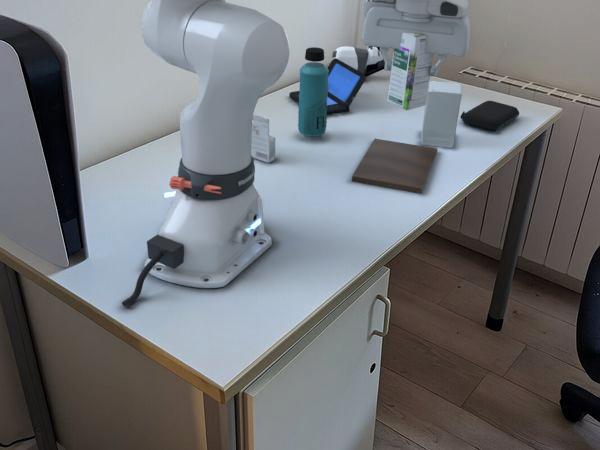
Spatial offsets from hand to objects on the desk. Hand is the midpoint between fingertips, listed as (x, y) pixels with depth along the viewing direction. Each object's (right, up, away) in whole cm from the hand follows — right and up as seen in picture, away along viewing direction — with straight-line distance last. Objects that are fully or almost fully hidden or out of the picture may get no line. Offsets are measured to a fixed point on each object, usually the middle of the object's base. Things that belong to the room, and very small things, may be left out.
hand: (411, 72), depth 132 cm
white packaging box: (+9, -11, +21) cm, 26 cm away
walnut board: (-2, -18, +9) cm, 20 cm away
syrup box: (0, -6, +3) cm, 7 cm away
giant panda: (-7, +11, +56) cm, 58 cm away
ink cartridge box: (-32, -15, +12) cm, 37 cm away
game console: (-15, +1, +39) cm, 42 cm away
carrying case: (+24, -5, +32) cm, 40 cm away
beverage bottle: (-19, -10, +21) cm, 30 cm away
